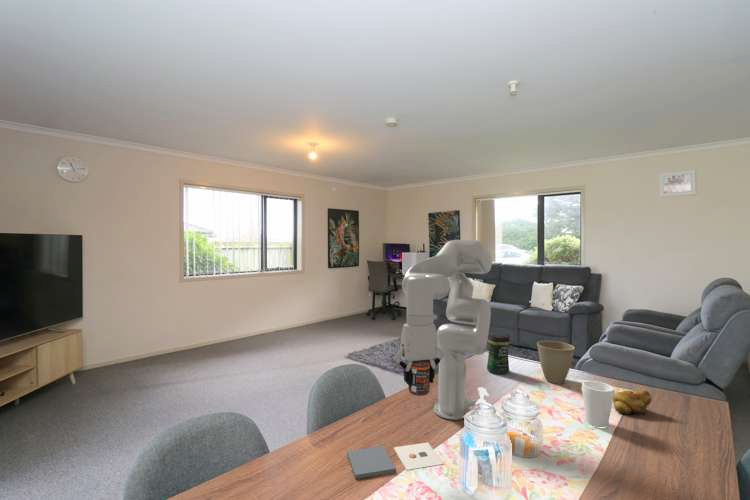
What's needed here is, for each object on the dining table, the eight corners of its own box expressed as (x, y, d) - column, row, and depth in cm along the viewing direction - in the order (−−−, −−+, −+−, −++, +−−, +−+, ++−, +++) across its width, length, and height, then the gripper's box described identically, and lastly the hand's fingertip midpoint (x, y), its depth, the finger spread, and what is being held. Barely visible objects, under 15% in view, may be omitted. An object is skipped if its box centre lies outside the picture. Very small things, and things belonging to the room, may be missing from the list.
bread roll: (626, 418, 128) (626, 395, 128) (602, 406, 138) (602, 385, 137) (654, 414, 131) (655, 392, 131) (629, 402, 141) (630, 382, 141)
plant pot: (580, 387, 155) (581, 350, 155) (545, 386, 155) (546, 349, 155) (563, 374, 170) (563, 340, 170) (531, 374, 170) (531, 340, 170)
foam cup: (577, 423, 124) (578, 385, 123) (584, 414, 131) (585, 378, 130) (610, 434, 117) (611, 394, 117) (615, 423, 124) (616, 385, 124)
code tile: (427, 442, 111) (427, 442, 111) (444, 463, 100) (444, 463, 100) (393, 447, 108) (393, 447, 108) (406, 470, 98) (406, 469, 98)
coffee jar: (493, 375, 168) (494, 335, 168) (484, 369, 176) (485, 331, 175) (512, 373, 171) (512, 334, 170) (502, 368, 178) (502, 330, 178)
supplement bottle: (416, 398, 100) (416, 357, 100) (404, 390, 105) (404, 351, 105) (433, 394, 103) (434, 354, 102) (421, 386, 108) (421, 348, 108)
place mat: (383, 449, 107) (383, 445, 107) (395, 472, 97) (395, 468, 97) (347, 454, 104) (347, 451, 104) (355, 478, 94) (355, 475, 94)
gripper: (441, 315, 109) (440, 374, 110) (386, 318, 105) (386, 380, 105) (453, 320, 102) (452, 384, 103) (395, 324, 98) (394, 391, 98)
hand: (419, 381), depth 104 cm, fingers closed on supplement bottle, 6 cm apart
